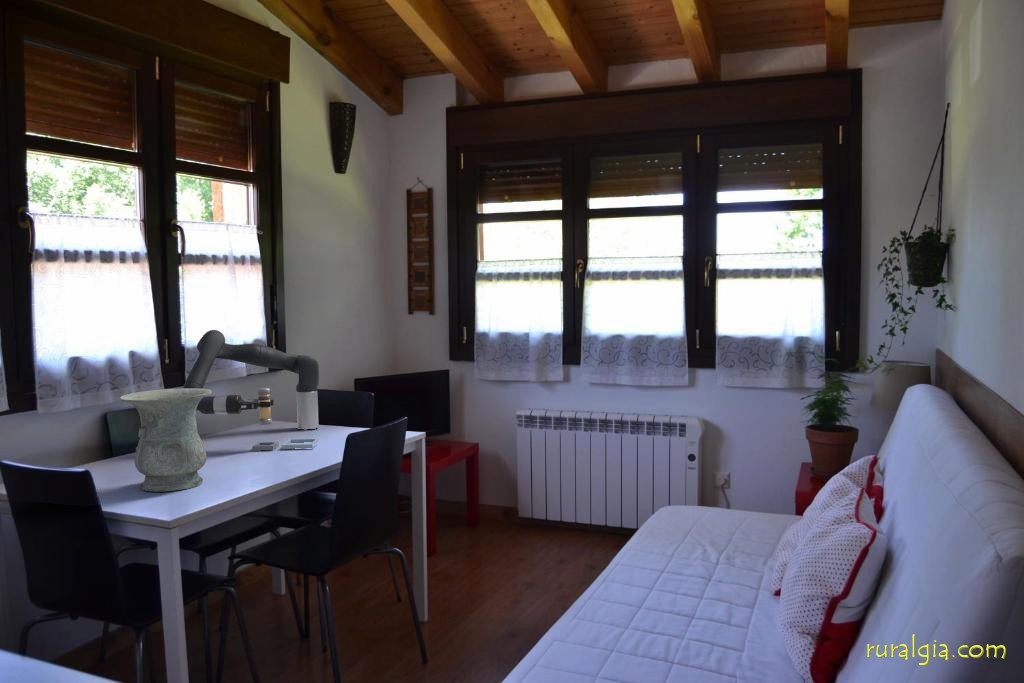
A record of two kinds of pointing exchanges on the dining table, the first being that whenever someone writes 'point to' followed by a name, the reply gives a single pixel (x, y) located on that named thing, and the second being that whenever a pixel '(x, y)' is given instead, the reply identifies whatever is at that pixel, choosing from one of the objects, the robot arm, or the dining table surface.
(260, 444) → the socket block
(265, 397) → the grey capped cylinder
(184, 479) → the vessel
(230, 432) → the dining table surface
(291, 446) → the parts tray
